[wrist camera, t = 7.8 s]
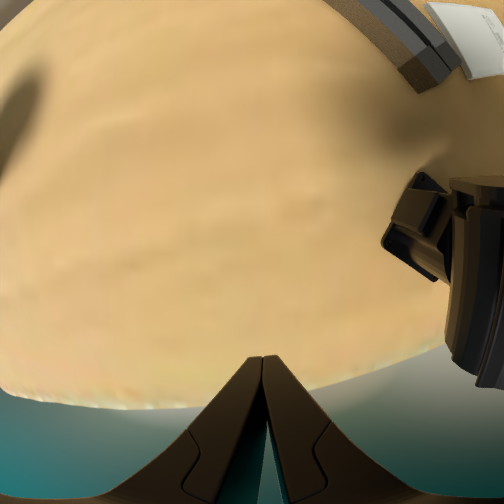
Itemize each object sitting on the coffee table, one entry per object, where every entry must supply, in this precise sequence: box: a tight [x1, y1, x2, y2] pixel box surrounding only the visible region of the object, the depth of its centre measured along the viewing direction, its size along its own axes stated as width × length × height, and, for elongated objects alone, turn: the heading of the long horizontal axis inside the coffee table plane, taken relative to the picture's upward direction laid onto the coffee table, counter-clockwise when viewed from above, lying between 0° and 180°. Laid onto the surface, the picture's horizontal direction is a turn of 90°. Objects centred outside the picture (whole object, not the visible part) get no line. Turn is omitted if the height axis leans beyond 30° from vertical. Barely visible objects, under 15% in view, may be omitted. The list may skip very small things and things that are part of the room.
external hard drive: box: [423, 2, 504, 80], centre depth 12 cm, size 2×8×12 cm
